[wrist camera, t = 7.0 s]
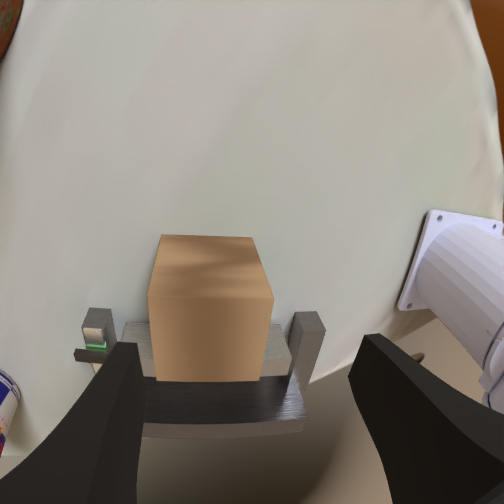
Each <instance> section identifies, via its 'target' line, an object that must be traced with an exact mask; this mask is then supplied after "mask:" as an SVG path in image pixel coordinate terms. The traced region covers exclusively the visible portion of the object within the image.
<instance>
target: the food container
mask: <svg viewBox="0 0 504 504" xmlns="http://www.w3.org/2000/svg"><path fill="white" fill-rule="evenodd" d="M22 4H23V0H0V61H1V60H2V58H3V56H4V54H5V52H6V50H7V47H8V45H9V43H10V40H11V38H12V36H13V33H14V30H15V28H16V24H17V21H18V19H19V15H20V12H21V8H22Z"/></svg>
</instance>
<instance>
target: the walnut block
mask: <svg viewBox="0 0 504 504" xmlns="http://www.w3.org/2000/svg"><path fill="white" fill-rule="evenodd" d="M147 300H148V312H149V322H150V332H151V341H152V349H153V357H154V365H155V372H156V379H157V381H177V382H233V381H259V379H260V373H261V368H262V363H263V358H264V352H265V347H266V342H267V336H268V331H269V325H270V320H271V314H272V309H273V303H274V296H273V294H272V291H271V288H270V285H269V283H268V280H267V277H266V274H265V272H264V269H263V266H262V264H261V261H260V258H259V255H258V253H257V250H256V247H255V244H254V242H253V239H252V237H225V236H195V235H163V234H162V236H161V240H160V244H159V248H158V252H157V256H156V260H155V264H154V268H153V273H152V277H151V281H150V286H149V290H148V295H147Z"/></svg>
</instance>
